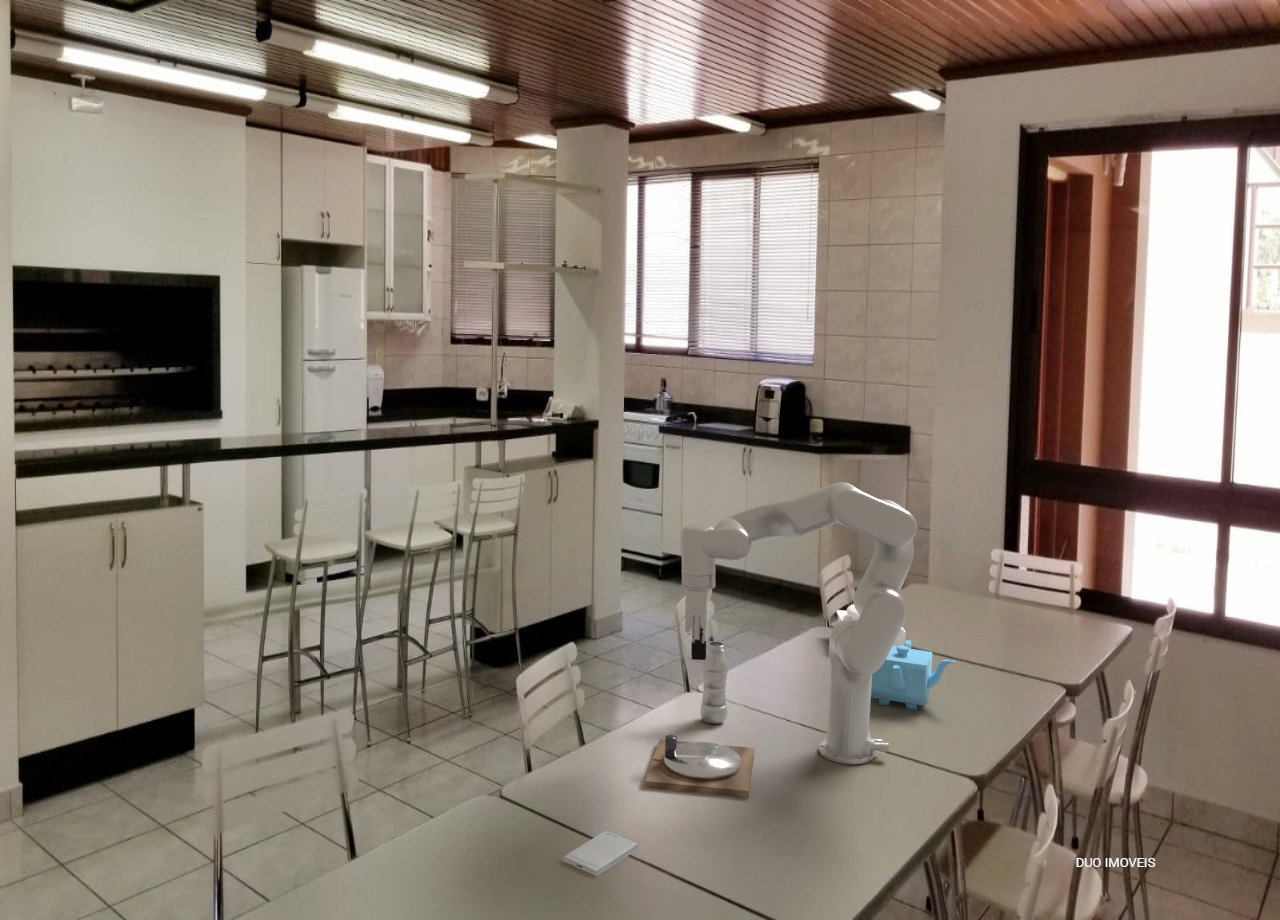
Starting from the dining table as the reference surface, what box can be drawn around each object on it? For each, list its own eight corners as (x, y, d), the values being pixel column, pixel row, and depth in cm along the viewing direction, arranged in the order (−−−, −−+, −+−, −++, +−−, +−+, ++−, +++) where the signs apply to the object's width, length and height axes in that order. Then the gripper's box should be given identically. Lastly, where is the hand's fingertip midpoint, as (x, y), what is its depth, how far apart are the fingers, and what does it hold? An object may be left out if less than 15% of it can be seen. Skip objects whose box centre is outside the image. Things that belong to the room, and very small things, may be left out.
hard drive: (604, 829, 202) (562, 855, 192) (638, 843, 197) (596, 870, 187) (604, 838, 202) (562, 863, 192) (638, 851, 197) (596, 879, 188)
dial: (738, 748, 239) (739, 724, 239) (742, 781, 223) (743, 756, 222) (664, 745, 240) (665, 721, 239) (662, 778, 223) (663, 753, 222)
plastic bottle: (725, 728, 255) (728, 649, 252) (697, 725, 256) (700, 646, 254) (728, 718, 261) (731, 641, 258) (701, 715, 263) (704, 638, 260)
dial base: (754, 754, 241) (754, 746, 240) (748, 797, 219) (749, 789, 219) (659, 745, 244) (659, 738, 244) (645, 787, 223) (645, 779, 222)
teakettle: (850, 693, 281) (853, 640, 279) (907, 684, 288) (911, 632, 286) (894, 719, 264) (897, 662, 262) (953, 709, 271) (957, 654, 269)
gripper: (685, 571, 242) (685, 647, 245) (678, 588, 228) (678, 669, 230) (717, 572, 241) (717, 648, 244) (712, 589, 226) (713, 670, 229)
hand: (698, 658), depth 237 cm, fingers closed
